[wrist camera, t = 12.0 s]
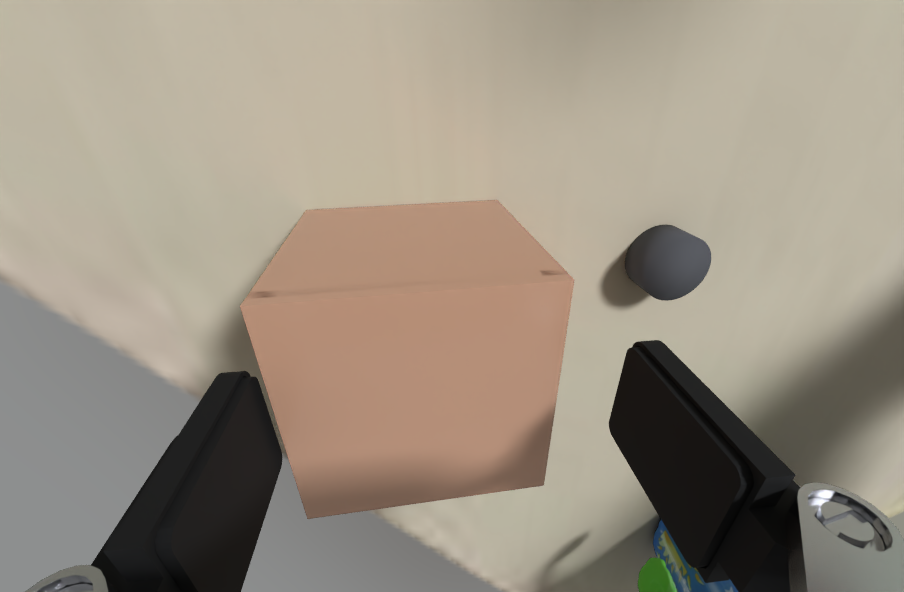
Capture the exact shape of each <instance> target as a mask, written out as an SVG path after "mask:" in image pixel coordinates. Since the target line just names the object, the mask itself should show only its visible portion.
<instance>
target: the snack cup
mask: <svg viewBox="0 0 904 592" xmlns="http://www.w3.org/2000/svg"><path fill="white" fill-rule="evenodd" d="M653 545H654V550H655V553H656V556H657V558H650V559H649V560H648V561H647V563H646V564H645V565H644V566H643V567H642V569H641V570H640V573H639V579H638V588H639V592H738V591H737V589H736V588H735V586H734V585H733V583H732V581H731V580H730V579H729V580H726V581H719V582H711V583H705V582H704V580H703V579H702V577H701V575H700V574H699V572H698V570H697V569H696V568H693V567H691V566H690V565H689V564H688V563H687V562H686V560H685V559H684V557H683V556H682V554H681V552H680V550H679V549H678V547H677V545H676V544H675V542H674V540H673V539H672V537H671V535H670V533H669V532H668V530H667V528H666V527H665V525H664V523H663V522H662V520H661V521H660V522H659V527H658V528H657V530H656V532H655V534H654V540H653Z"/></svg>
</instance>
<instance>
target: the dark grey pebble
mask: <svg viewBox="0 0 904 592" xmlns="http://www.w3.org/2000/svg"><path fill="white" fill-rule="evenodd" d="M710 264H711V252H710V249H709V247H708V245H707V244H706V243H705V242H704V241H703V240H701V239H699V238H697V237H695V236H693V235H691V234H689V233H687V232H685V231H683V230H681V229H679V228H677V227H675V226H672V225H658V226H655V227H652V228H650V229H648V230H646V231H645V232H643V233H642V234H641V235H639V236H638V237H637V238H636V239H635V240H634V242H633V243H632V244H631V246H630V248H629V249H628V252H627V254H626V258H625V270H626V273H627V275H628V276H629V278H630V279H631V280H632V281H634V282H635V283H636V284H637V285H639V286H640V287H641V288H642V289H644V290H645V291H646V292H647V293H649V294H650V295H651V296H653V297H654V298H656V299H659V300H674V299H677V298H680V297H682V296H685V295H686V294H688V293H690V292H691V291H692V290H694V289H695V288H696V287H697V286H698V285H699V284H700V283H701V282H702V280H703V279H704V277H705V276H706V274H707V272H708V270H709V267H710Z"/></svg>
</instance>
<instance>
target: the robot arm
mask: <svg viewBox="0 0 904 592" xmlns="http://www.w3.org/2000/svg"><path fill="white" fill-rule="evenodd" d="M609 428H610V432H611V435H612V437H613V438H614V440H615V442H616V444H617V445H618V447H619V449H620V450H621V452H622V454H623V455H624V457H625V459H626V460H627V462H628V464H629V466H630V467H631V469H632V471H633V472H634V474H635V476H636V477H637V479H638V481H639V483H640V484H641V486H642V488H643V489H644V491H645V493H646V494H647V496H648V498H649V500H650V501H651V503H652V505H653V506H654V508H655V510H656V511H657V513H658V515H659V516H660V518H661V520H662V522H663V523H664V525H665V527H666V528H667V530H668V532H669V533H670V535H671V537H672V539H673V540H674V542H675V544H676V545H677V547H678V549H679V550H680V552H681V554H682V556H683V557H684V559H685V560H686V562H687V563H688V564H689V565H690V566H691V567H693V568H696V569H697V570H698V572H699V574H700V575H701V577H702V579H703V580H704V582H705V583H711V582H719V581H726V580H729V579H730V580H731V581H732V583H733V585H734V586H735V588H736V589H737V591H738V592H904V539H903V538H902V536H901V534H900V532H899V530H898V529H897V527H896V526H895V525H894V524H893V523H892V522H891V521H890V519H889V518H888V517H887V516H886V515H884V514H883V513H882V512H881V511H880V510H878V509H877V508H876V507H875V506H874V505H872V504H871V503H869V502H867V501H866V500H864V499H863V498H861V497H859V496H858V495H856V494H854V493H851V492H849V491H847V490H845V489H843V488H840V487H837V486H833V485H830V484H827V483H816V482H813V483H808V484H804V485H803V486H802V487H801V488H800V487H799V486H798V485H797V484H796V483H795V482H794V481H793V480H792V479H793V478H794V476H795V474H794V473H793V472H792V471H791V470H790V469H789V468H788V467H787V466H786V465H785V464H784V463H783V462H782V461H781V460H780V459H779V458H778V457H777V456H776V455H775V454H774V453H773V452H772V451H771V450H770V449H769V448H768V447H767V446H766V445H765V444H764V443H763V442H762V441H761V440H760V439H759V438H758V437H757V436H756V435H755V434H754V433H753V432H752V431H751V430H750V429H749V428H748V427H747V426H746V425H745V424H744V423H743V422H742V421H741V420H740V419H739V418H738V417H737V416H736V415H735V414H734V413H733V412H732V411H731V410H730V409H729V408H728V407H727V406H726V405H725V404H724V403H723V402H722V401H721V400H720V399H719V398H718V397H717V396H716V395H715V394H714V393H713V392H712V391H711V390H710V389H709V388H708V387H707V386H706V385H705V384H704V383H703V382H702V381H701V380H700V379H699V378H698V377H697V376H696V375H695V374H694V373H693V372H692V371H691V370H690V369H689V368H688V367H687V366H686V365H685V364H684V363H683V362H682V361H681V360H680V359H679V358H678V357H677V356H676V355H675V354H674V353H673V352H672V351H671V350H670V349H669V348H668V347H667V346H666V345H665V344H664V343H663V342H661V341H658V340H654V341H641V342H636V343H635V344H634V345H633V347H632V348H629V349H628V350H627V353H626V357H625V361H624V365H623V369H622V373H621V377H620V381H619V385H618V389H617V392H616V396H615V400H614V404H613V408H612V412H611V416H610V420H609ZM281 465H282V452H281V449H280V446H279V443H278V440H277V437H276V433H275V430H274V427H273V424H272V421H271V418H270V415H269V412H268V409H267V406H266V403H265V400H264V397H263V394H262V391H261V388H260V385H259V382H258V379H257V378H256V377H250V374H249V373H248V372H246V371H242V372H228V373H220V374H218V375H217V377H216V378H215V379H214V381H213V383H212V384H211V386H210V387H209V389H208V390H207V392H206V393H205V395H204V396H203V398H202V400H201V401H200V403H199V404H198V406H197V407H196V409H195V410H194V412H193V414H192V415H191V417H190V418H189V420H188V421H187V423H186V425H185V426H184V428H183V429H182V430H181V432H180V434H179V435H178V436H177V437H176V438H175V439H174V440H173V441H172V442H171V444H170V445H169V447H168V448H167V450H166V451H165V453H164V454H163V456H162V457H161V459H160V460H159V462H158V464H157V465H156V467H155V468H154V470H153V471H152V473H151V474H150V476H149V477H148V479H147V480H146V482H145V483H144V485H143V486H142V488H141V489H140V491H139V492H138V494H137V496H136V497H135V499H134V500H133V502H132V503H131V505H130V506H129V508H128V509H127V511H126V512H125V514H124V515H123V517H122V519H121V520H120V521H119V523H118V525H117V526H116V528H115V529H114V531H113V532H112V534H111V535H110V537H109V538H108V540H107V541H106V543H105V544H104V546H103V547H102V549H101V551H100V552H99V554H98V555H97V557H96V558H95V560H94V561H93V563H92V564H91V565H80V566H74V567H70V568H67V569H64V570H60V571H58V572H56V573H54V574H52V575H50V576H48V577H46V578H44V579H42V580H41V581H39V582H38V583H36V584H35V585H33V586H32V587H31V588H29V589H28V590H26V591H25V592H241V589H242V586H243V583H244V580H245V577H246V573H247V571H248V568H249V564H250V561H251V558H252V555H253V552H254V549H255V546H256V543H257V540H258V537H259V534H260V531H261V528H262V524H263V521H264V518H265V515H266V512H267V509H268V506H269V503H270V500H271V496H272V493H273V491H274V487H275V484H276V481H277V478H278V475H279V472H280V469H281Z"/></svg>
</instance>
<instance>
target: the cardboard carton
mask: <svg viewBox="0 0 904 592" xmlns="http://www.w3.org/2000/svg"><path fill="white" fill-rule="evenodd" d="M573 286H574V279H573V278H572V277H571V276H570V275H569V274H568V273H567V272H566V271H565V270H564V269H563V267H562V266H561V265H560V264H559V263H558V262H557V261H556V260H555V259H554V258H553V257H552V256H551V255H550V254H549V253H548V252H547V251H546V250H545V249H544V248H543V247H542V246H541V245H540V244H539V243H538V242H537V241H536V240H535V238H534V237H533V236H532V235H531V234H530V233H529V232H528V231H527V230H526V229H525V228H524V227H523V226H522V225H521V224H520V223H519V222H518V221H517V220H516V219H515V218H514V217H513V216H512V215H511V214H510V213H509V212H508V210H507V209H506V208H505V207H504V206H503V205H502V204H501V203H500V202H499V201H498V200H488V201H469V202H450V203H431V204H412V205H393V206H374V207H355V208H336V209H317V210H306V211H305V213H304V214H303V216H302V217H301V218H300V220H299V221H298V223H297V224H296V226H295V227H294V229H293V230H292V231H291V233H290V234H289V236H288V237H287V239H286V240H285V242H284V243H283V245H282V246H281V247H280V249H279V250H278V252H277V253H276V255H275V256H274V258H273V259H272V260H271V262H270V263H269V265H268V266H267V268H266V269H265V271H264V272H263V274H262V275H261V276H260V278H259V279H258V281H257V282H256V284H255V285H254V287H253V288H252V289H251V291H250V292H249V294H248V295H247V297H246V298H245V300H244V301H243V303H242V304H241V305H240V308H241V311H242V314H243V317H244V320H245V324H246V327H247V330H248V333H249V336H250V339H251V342H252V346H253V349H254V352H255V355H256V358H257V361H258V364H259V368H260V371H261V374H262V377H263V380H264V383H265V386H266V390H267V393H268V396H269V399H270V402H271V405H272V409H273V412H274V415H275V418H276V421H277V424H278V427H279V431H280V434H281V437H282V440H283V443H284V446H285V449H286V453H287V456H288V459H289V462H290V465H291V468H292V471H293V474H294V478H295V481H296V484H297V487H298V490H299V493H300V496H301V500H302V503H303V506H304V509H305V512H306V515H307V519H311V518H318V517H325V516H332V515H339V514H346V513H352V512H360V511H367V510H374V509H381V508H388V507H395V506H402V505H409V504H416V503H423V502H430V501H437V500H444V499H451V498H458V497H466V496H473V495H480V494H487V493H494V492H501V491H508V490H515V489H522V488H529V487H536V486H543V485H544V480H545V473H546V466H547V460H548V453H549V446H550V440H551V433H552V426H553V420H554V413H555V406H556V399H557V393H558V386H559V379H560V373H561V366H562V359H563V353H564V346H565V339H566V332H567V326H568V319H569V312H570V306H571V299H572V292H573Z"/></svg>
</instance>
